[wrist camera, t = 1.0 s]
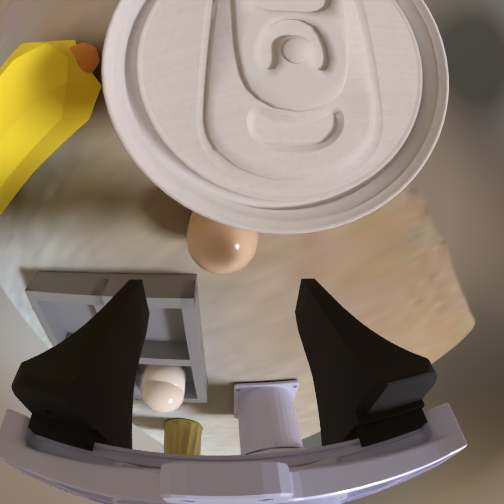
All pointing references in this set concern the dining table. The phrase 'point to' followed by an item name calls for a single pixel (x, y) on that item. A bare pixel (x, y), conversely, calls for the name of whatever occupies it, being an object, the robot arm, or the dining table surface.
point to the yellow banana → (42, 105)
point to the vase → (182, 437)
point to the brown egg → (219, 245)
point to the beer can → (276, 104)
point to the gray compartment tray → (159, 325)
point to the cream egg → (163, 387)
